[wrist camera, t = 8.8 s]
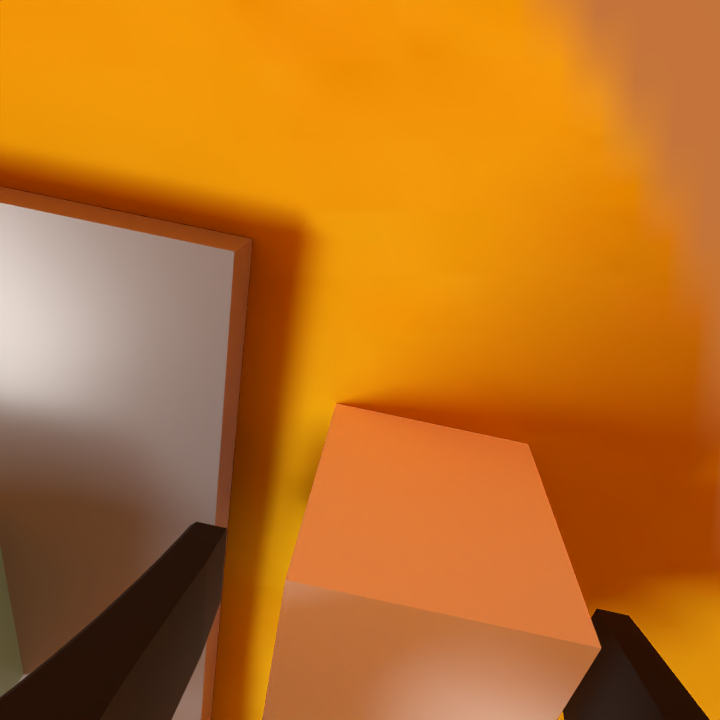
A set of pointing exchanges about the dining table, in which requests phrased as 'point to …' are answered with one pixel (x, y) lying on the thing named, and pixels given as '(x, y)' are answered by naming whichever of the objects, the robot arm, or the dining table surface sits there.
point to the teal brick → (8, 639)
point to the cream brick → (427, 583)
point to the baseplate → (111, 408)
